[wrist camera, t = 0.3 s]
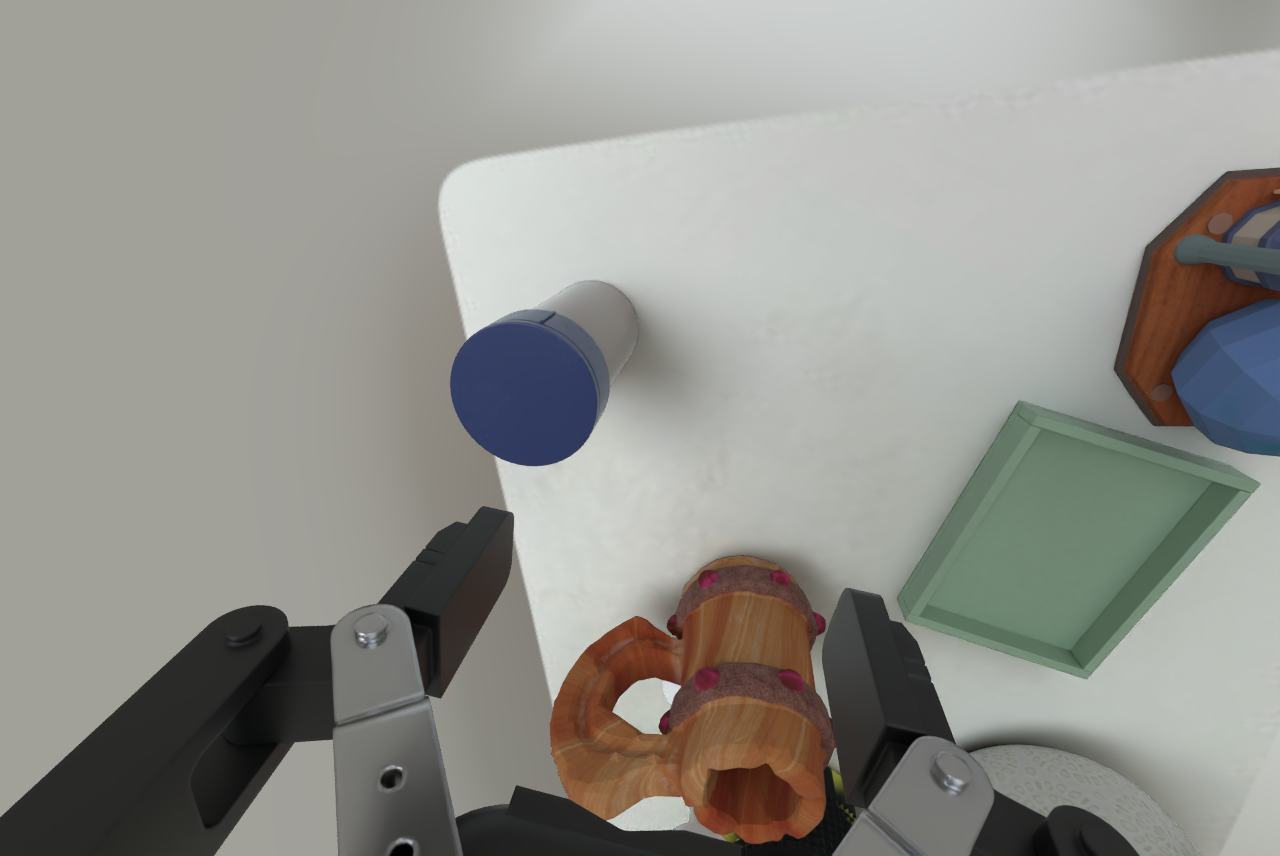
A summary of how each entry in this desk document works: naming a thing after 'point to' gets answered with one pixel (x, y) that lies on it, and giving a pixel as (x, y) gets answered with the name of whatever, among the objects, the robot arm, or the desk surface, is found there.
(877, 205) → the desk surface
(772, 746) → the mug
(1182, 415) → the model
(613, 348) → the jar
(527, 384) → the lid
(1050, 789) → the planter
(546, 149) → the desk surface
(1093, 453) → the tray
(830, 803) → the container
